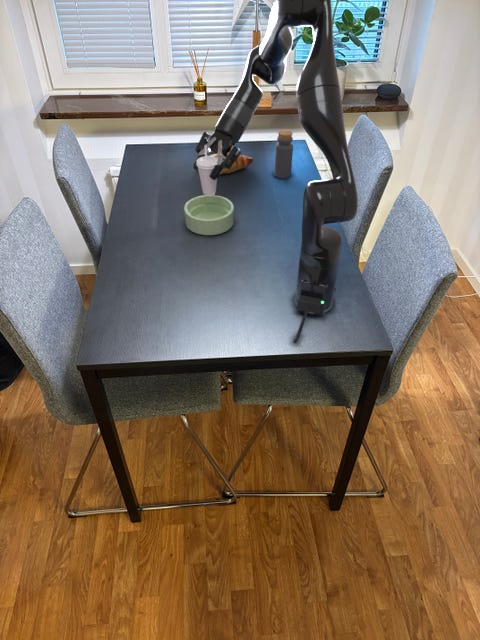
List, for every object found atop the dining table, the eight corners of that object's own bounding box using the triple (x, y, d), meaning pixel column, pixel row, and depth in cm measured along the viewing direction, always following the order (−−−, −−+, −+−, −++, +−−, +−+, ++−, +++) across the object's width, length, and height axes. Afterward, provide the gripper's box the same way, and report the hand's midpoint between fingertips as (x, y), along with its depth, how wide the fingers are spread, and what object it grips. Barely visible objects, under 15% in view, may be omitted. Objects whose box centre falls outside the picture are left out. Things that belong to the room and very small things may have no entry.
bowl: (225, 240, 147) (224, 224, 144) (178, 232, 150) (176, 215, 147) (239, 214, 158) (239, 199, 154) (195, 207, 161) (194, 191, 157)
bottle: (293, 176, 176) (297, 134, 165) (278, 179, 174) (281, 137, 164) (286, 169, 180) (289, 127, 169) (271, 172, 178) (273, 130, 168)
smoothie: (208, 184, 150) (206, 138, 140) (224, 191, 147) (223, 145, 137) (193, 193, 146) (190, 146, 137) (210, 200, 143) (207, 153, 134)
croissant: (196, 184, 178) (196, 170, 171) (190, 160, 181) (191, 146, 174) (254, 176, 182) (257, 162, 174) (248, 153, 185) (250, 138, 177)
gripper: (209, 105, 140) (179, 159, 142) (245, 121, 132) (213, 177, 135) (224, 119, 146) (195, 171, 149) (259, 135, 139) (228, 189, 141)
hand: (203, 174), depth 142 cm, fingers closed on smoothie, 6 cm apart
